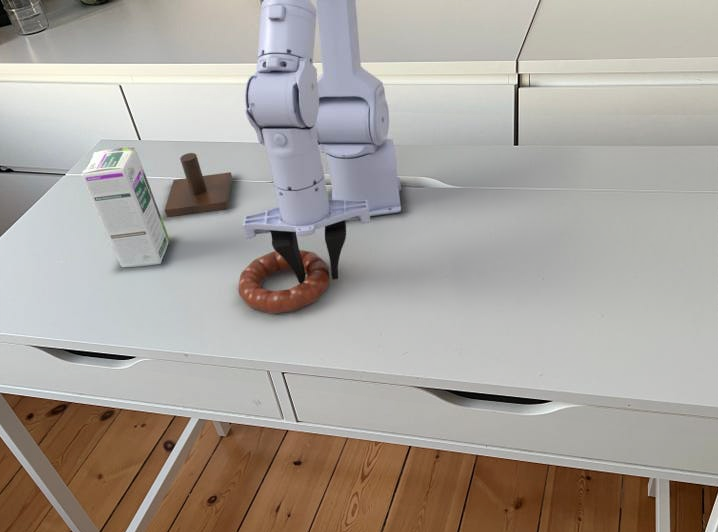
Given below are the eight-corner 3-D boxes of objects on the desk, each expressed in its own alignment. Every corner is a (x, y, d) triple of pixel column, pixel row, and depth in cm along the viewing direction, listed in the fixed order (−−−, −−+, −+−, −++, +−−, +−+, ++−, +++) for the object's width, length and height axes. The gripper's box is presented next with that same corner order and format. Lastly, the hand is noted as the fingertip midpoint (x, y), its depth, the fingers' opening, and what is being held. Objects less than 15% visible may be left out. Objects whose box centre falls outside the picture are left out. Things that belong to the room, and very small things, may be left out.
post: (232, 178, 119) (221, 138, 115) (227, 209, 112) (215, 167, 108) (175, 186, 119) (162, 146, 115) (166, 217, 113) (152, 176, 108)
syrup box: (162, 264, 103) (125, 166, 94) (119, 268, 104) (79, 172, 94) (170, 241, 108) (137, 145, 98) (129, 245, 108) (92, 150, 98)
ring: (330, 257, 100) (327, 240, 98) (331, 310, 91) (327, 293, 90) (245, 268, 100) (240, 251, 98) (238, 322, 92) (232, 305, 90)
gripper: (231, 204, 83) (258, 303, 92) (364, 186, 82) (379, 288, 91) (236, 173, 88) (262, 269, 97) (362, 156, 88) (376, 255, 97)
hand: (318, 276), depth 95 cm, fingers open, 3 cm apart
